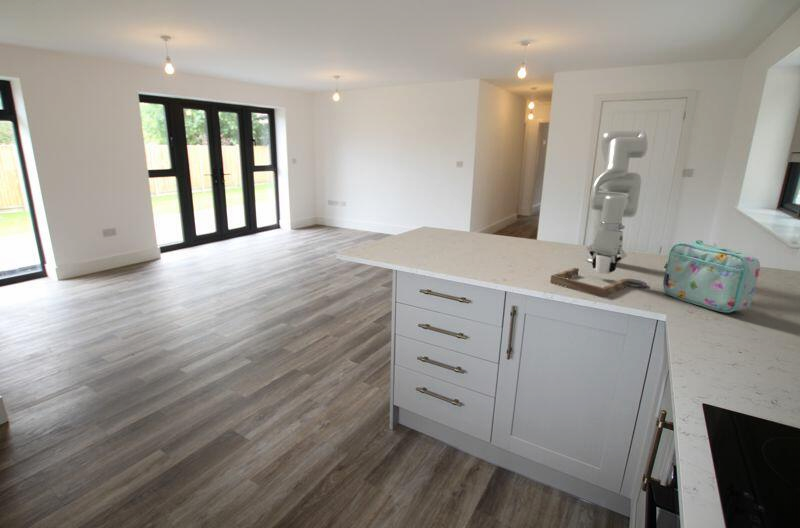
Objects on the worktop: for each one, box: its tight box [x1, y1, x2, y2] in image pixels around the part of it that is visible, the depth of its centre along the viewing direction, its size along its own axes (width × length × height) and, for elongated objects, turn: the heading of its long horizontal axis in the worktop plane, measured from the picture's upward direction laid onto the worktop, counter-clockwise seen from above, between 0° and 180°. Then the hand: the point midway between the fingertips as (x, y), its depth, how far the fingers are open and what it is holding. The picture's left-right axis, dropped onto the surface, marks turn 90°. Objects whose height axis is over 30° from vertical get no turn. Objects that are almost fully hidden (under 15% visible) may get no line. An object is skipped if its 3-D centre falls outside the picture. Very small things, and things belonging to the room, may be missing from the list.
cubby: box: [550, 267, 627, 298], centre depth 160 cm, size 20×21×3 cm
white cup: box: [595, 254, 612, 275], centre depth 166 cm, size 7×7×7 cm
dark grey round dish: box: [625, 278, 648, 289], centre depth 162 cm, size 9×9×1 cm
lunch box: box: [662, 239, 761, 313], centre depth 140 cm, size 27×10×21 cm, turn 22°
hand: (603, 269), depth 167 cm, fingers closed on white cup, 6 cm apart
